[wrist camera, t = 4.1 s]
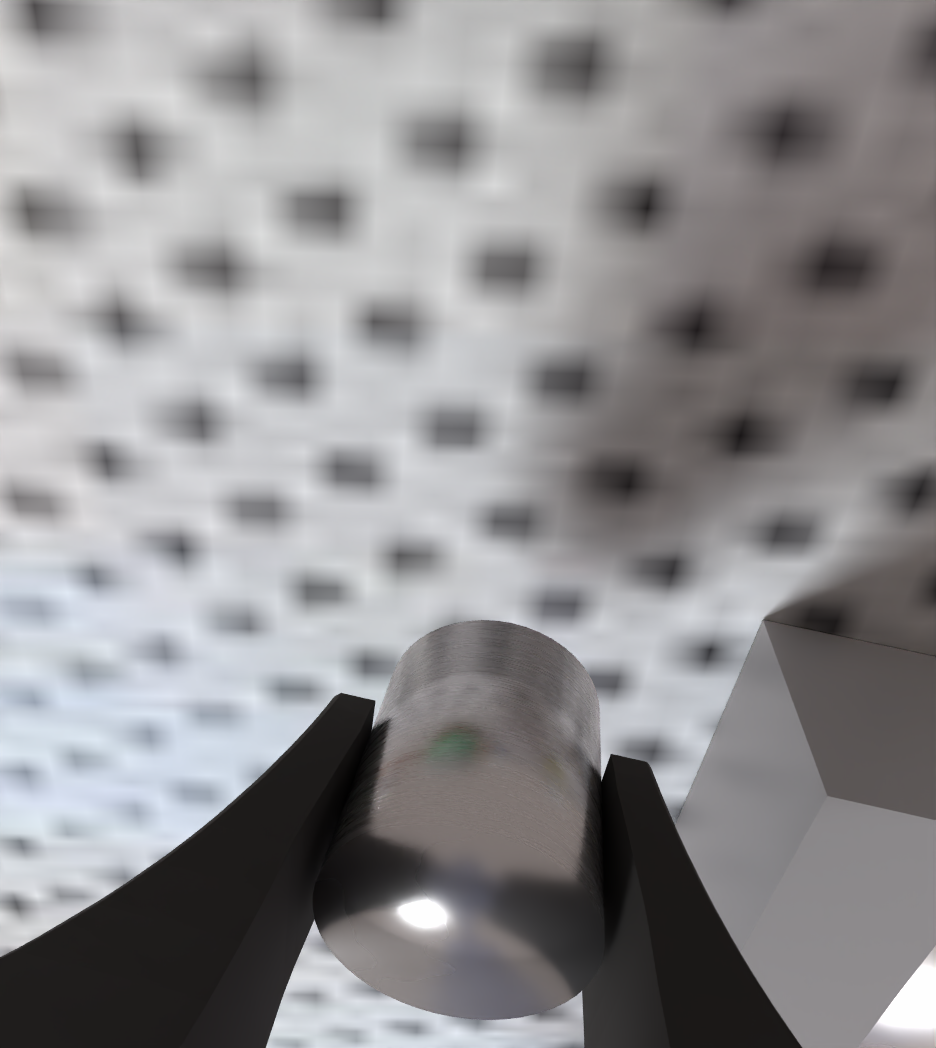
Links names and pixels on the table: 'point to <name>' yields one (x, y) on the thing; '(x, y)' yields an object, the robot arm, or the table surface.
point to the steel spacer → (473, 830)
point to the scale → (822, 826)
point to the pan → (909, 1013)
